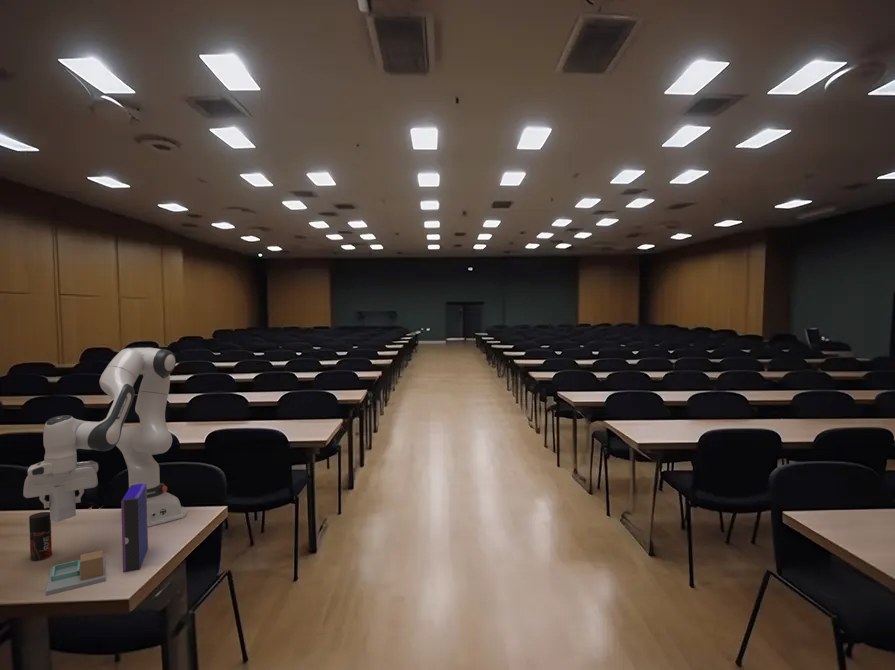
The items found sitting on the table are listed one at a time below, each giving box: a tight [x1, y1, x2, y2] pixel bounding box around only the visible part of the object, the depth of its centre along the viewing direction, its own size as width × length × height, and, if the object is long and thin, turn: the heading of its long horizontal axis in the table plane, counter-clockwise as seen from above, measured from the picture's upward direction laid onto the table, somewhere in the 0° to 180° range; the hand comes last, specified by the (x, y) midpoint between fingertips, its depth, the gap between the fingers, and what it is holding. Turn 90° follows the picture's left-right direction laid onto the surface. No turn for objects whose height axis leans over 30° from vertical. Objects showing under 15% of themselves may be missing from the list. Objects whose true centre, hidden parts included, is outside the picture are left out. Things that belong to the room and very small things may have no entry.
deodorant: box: [28, 511, 53, 562], centre depth 183 cm, size 6×6×15 cm
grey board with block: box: [45, 549, 106, 596], centre depth 170 cm, size 15×18×7 cm
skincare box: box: [48, 485, 77, 523], centre depth 177 cm, size 6×4×12 cm
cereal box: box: [120, 484, 149, 573], centre depth 181 cm, size 17×5×24 cm, turn 22°
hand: (62, 504), depth 177 cm, fingers closed on skincare box, 7 cm apart
